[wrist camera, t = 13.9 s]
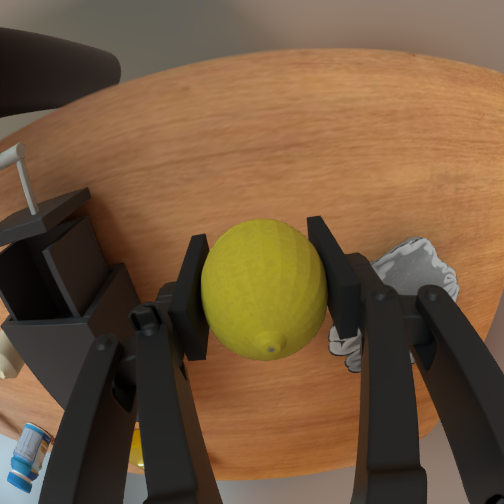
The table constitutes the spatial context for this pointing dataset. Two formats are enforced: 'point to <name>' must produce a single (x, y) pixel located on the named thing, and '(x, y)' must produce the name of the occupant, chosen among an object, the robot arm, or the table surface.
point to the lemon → (264, 290)
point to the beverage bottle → (28, 456)
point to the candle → (9, 358)
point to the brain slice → (400, 286)
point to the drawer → (48, 254)
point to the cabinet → (73, 335)
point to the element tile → (136, 450)
